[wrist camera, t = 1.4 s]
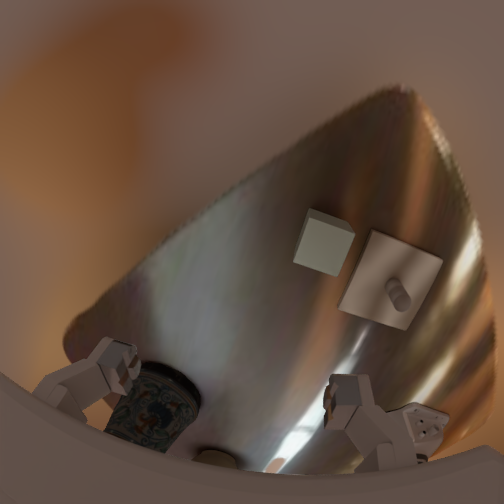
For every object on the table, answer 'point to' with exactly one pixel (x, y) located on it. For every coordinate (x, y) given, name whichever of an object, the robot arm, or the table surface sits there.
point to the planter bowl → (216, 459)
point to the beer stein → (155, 408)
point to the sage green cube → (323, 242)
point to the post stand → (389, 281)
